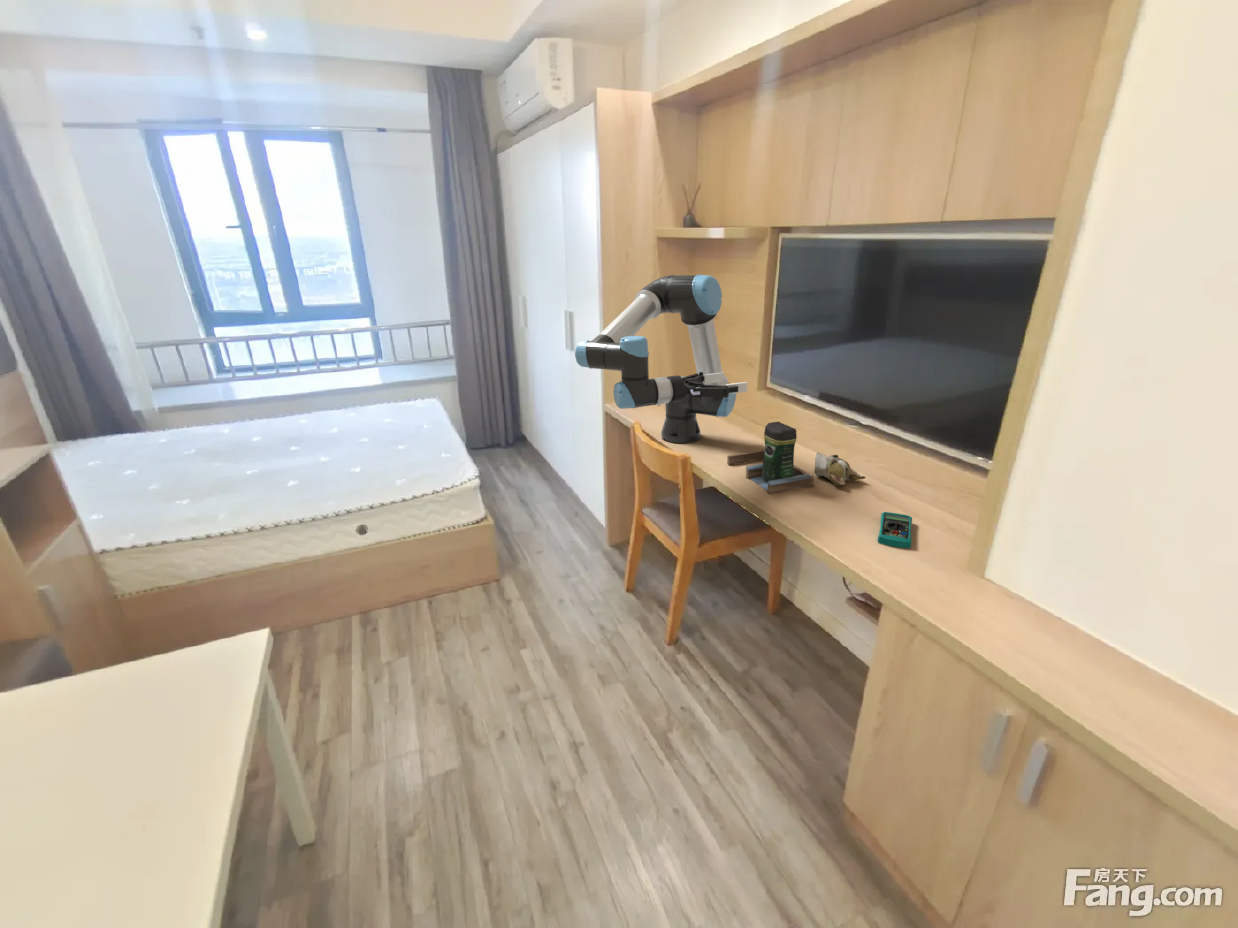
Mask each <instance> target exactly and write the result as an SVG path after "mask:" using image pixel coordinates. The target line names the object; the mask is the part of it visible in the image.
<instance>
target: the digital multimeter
mask: <svg viewBox="0 0 1238 928" xmlns="http://www.w3.org/2000/svg"><path fill="white" fill-rule="evenodd" d="M912 521H913V517H912V516H910V515H909V514H904V513H903V514H902V513H896V512H888V511H883V512H881V514H880V527H879V528H880V529H879V533H878V536H877V543H878V544H880V545H885V546H889V547H894V548H902V549H910V548H911V545H912V523H913V522H912Z"/></svg>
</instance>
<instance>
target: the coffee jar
mask: <svg viewBox="0 0 1238 928" xmlns="http://www.w3.org/2000/svg"><path fill="white" fill-rule="evenodd" d="M763 433H764V434H763V439H764V449H763V450H764V459H763V461H762V464H763V468H762V478H763V480H765V481H766V482H768V481H771V480H776V479H782V478H787V477H793V465H794V464H795V463H794V461H795V460H794V459H795V445H796V441H797V437H798V436H797V429H796V428H795V427H792V426H790V425H787V424H785V423H783V422H780V421H774V422H773V421H772V422H769V423H767V424H766V425H765V428H764V432H763Z"/></svg>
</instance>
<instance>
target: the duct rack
mask: <svg viewBox="0 0 1238 928" xmlns="http://www.w3.org/2000/svg"><path fill="white" fill-rule="evenodd" d="M764 450H765V449H761V450H755V451H748V452H743V453H736V454H731V455H727V457H726V458H727V459H726V461H727V462H726V464H727V465H728V466H732V464H733V465H737V464H738V463H739V464H745V463H749V462H750V461H751V462H756V461H755V460H757V461H761V460H762V459H763V460H764ZM744 462H745V463H744ZM762 468H763V463H758V464H752V465H747V466H746V467H745V469H746V474H745V478H746V479H748V480H749V479H750V480H751V481H752V482H754V483H755V484H756V485H758V486H760V487H761V488H763V489H764V490H765V491H767V494H769V495H774V494H781V493H784V492H790V491H795V490H800V489H801V490H802V489H806V488H810V487H814V484H815V483H814V481H815V476H813V475H811V474H810V473H808V472H806V471H805V470H803V469H801V468H800V467H798V466H796V465H794V464H793V477H787V478H782V479H776V480H771V481H768V482H766V481H765V480H763V478H762Z"/></svg>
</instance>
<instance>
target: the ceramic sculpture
mask: <svg viewBox="0 0 1238 928" xmlns="http://www.w3.org/2000/svg"><path fill="white" fill-rule="evenodd" d="M814 474H815V476H816V477H824V478H826V479H828V480H830V481H831V483H832V484H833V485H834V486H837V487H847V484H846V480H848V479H849V480H853V481H857V480H858V481H859V480H865V479H866V476H864V475H860V474H859V473H858V472H857V471H856V470H855V469H853V468H851V465H850V464H849V462H848V461H847V460H845V459H843V458H840V457H839V455H838V454H833V455H830V456H827V455H825V454H823V453H821V452H816V454H815V457H814Z"/></svg>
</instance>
